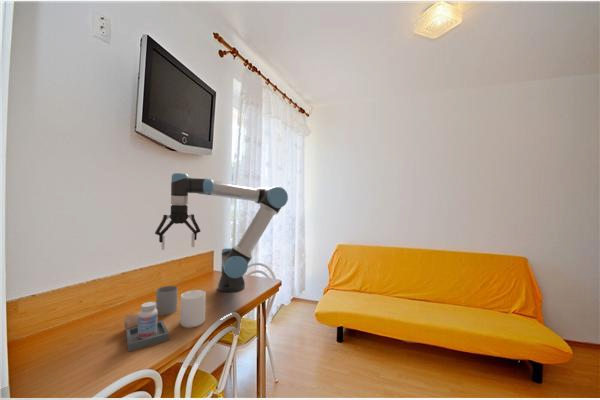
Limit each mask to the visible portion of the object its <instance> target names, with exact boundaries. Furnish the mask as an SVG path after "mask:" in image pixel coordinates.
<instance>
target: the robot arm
mask: <svg viewBox="0 0 600 400" xmlns="http://www.w3.org/2000/svg"><path fill="white" fill-rule="evenodd" d="M188 194H199V195H205V196H214V197H221V198H226V199H227V198H228V199H234V200H242V201H249V202H250V201H251V202H254V203H255V204H259V208H258V210H257V213H255V215H254V217H253V218H252V220H251V222H250V224H249V225H248V226H247V228H246V229H245V232H244V234H243V235H242V237H241V239H240V240H239V242H238V244H236V245H235V246H232V247H224V248H222V249H221V269H220V270H221V271H220V277H219V281H218V283H217V290H218V291H220V292H224V293H232V292H238V291H242V290H243V288H244V287H246V283H245V279H244V275H245V274H246V273H247V271H248V268H249V264H250V262H251V260H252V258H253V256H252V253H253V251H254V249H255V247H256V246H257V244H258V243H259V241H260V239H261V238H262V236H263V234H264V233H265V231H266V228H268V225H269V224H270V223H271V220H272V219H273V217H274V216H276V215H278V214H279V212H280V210H281V209H282V208H284V206H286V204H287V202H288V201H289V196H288V193H287V191H286V189H285V188H284V187H282V186H278V185H277V186H276V185H274V186H271V187H256V188H253V187H248V186H240V185H233V184H227V183H221V182H214V180H213V179H211V178H193V177H192V178H191V177H189V175H188V173H183V172H182V173H181V172H180V173H178V172H175V173H173V174H172V175H171V182H170V204H171V205H170V214H169V215H168V214H163V215H162V219H161V221H160V223H159V225H158V226H157V228H156V230H155V232H154V234H155V235H157V236H158V237H159V239H158V241H159V243H161V250H162V251H163V250H165V241H166V240H165V238H166V237H165V235H164V234H165V233H166V232H167V231H168V230H169V229H170V228H171V227H172V226H173V225H174V224H175V225H178V224H185V226H186V227H187V228H188V229H189V230H190V231H191V232H192V233H191V240H190V241H191V243H190V244H191V245H190V246H191V247H192V248H195V241H197V239H198V238H197V234H199V233H201V229H200V226H199V224H198V223H197V221H196V219H195V215H194V214H192V213H191V214H188V211H189V210H188V207H189V206H188V204H189V203H188V201H189V197H188V196H189V195H188ZM168 219H170V220H169V223H168V224H166V221H167V220H168ZM188 219H190V221H191V223H192V224H193V226H194V227H193V226H192V225H191V224H190V222H189V221H188ZM165 224H166V226H165V227H164V225H165ZM163 227H164V228H163ZM241 289H242V290H241ZM244 289H245V288H244Z"/></svg>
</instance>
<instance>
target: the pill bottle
mask: <svg viewBox="0 0 600 400" xmlns="http://www.w3.org/2000/svg"><path fill="white" fill-rule="evenodd" d="M139 312H140V313H139V315H138V338H140V339H145V338H148V337H152V336H155V335H156V333H157V322H158V316H159V315H158V311H157V309H156V301H147V302H144V303H142V304H141V305H140V311H139Z"/></svg>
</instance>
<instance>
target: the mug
mask: <svg viewBox="0 0 600 400" xmlns="http://www.w3.org/2000/svg"><path fill="white" fill-rule="evenodd" d="M206 294H207V293H206V291H205V290H199V289H197V290H196V289H195V290H188V291H186V292H183V293H182V294H181V295H180V315H179V317H180V318H179V321H180V324H179V325H180V326H182V327H183V328H185V329H186V328H188V329H190V328H191V329H192V328H196V327H200V326H201V325H202V324H203V323H205V321H206V300H207V299H206V296H207V295H206Z"/></svg>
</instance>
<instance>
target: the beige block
mask: <svg viewBox="0 0 600 400" xmlns="http://www.w3.org/2000/svg"><path fill="white" fill-rule="evenodd" d="M139 313H140V311H137V312H135V313H132V314H128V315H126V316H125V318H124V327H125V330H126V329H130V328H134V327H138V315H139Z"/></svg>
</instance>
